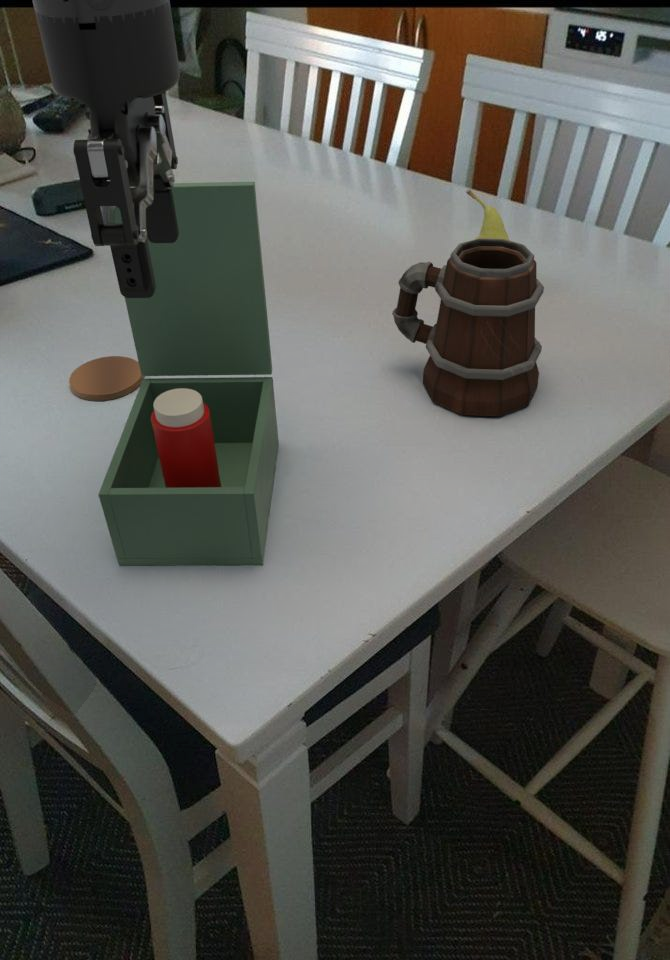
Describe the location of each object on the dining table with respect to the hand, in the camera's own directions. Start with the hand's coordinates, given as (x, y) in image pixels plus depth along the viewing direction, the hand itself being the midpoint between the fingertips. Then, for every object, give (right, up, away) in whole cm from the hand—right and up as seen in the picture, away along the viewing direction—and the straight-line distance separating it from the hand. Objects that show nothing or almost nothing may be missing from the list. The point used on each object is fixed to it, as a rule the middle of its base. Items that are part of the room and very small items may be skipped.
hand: (152, 266), depth 56 cm
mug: (+26, -4, +31) cm, 41 cm away
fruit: (+32, +10, +49) cm, 59 cm away
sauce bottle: (+1, -18, +15) cm, 23 cm away
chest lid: (+1, +2, +13) cm, 13 cm away
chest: (+1, -17, +18) cm, 24 cm away
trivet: (-13, -4, +34) cm, 36 cm away
